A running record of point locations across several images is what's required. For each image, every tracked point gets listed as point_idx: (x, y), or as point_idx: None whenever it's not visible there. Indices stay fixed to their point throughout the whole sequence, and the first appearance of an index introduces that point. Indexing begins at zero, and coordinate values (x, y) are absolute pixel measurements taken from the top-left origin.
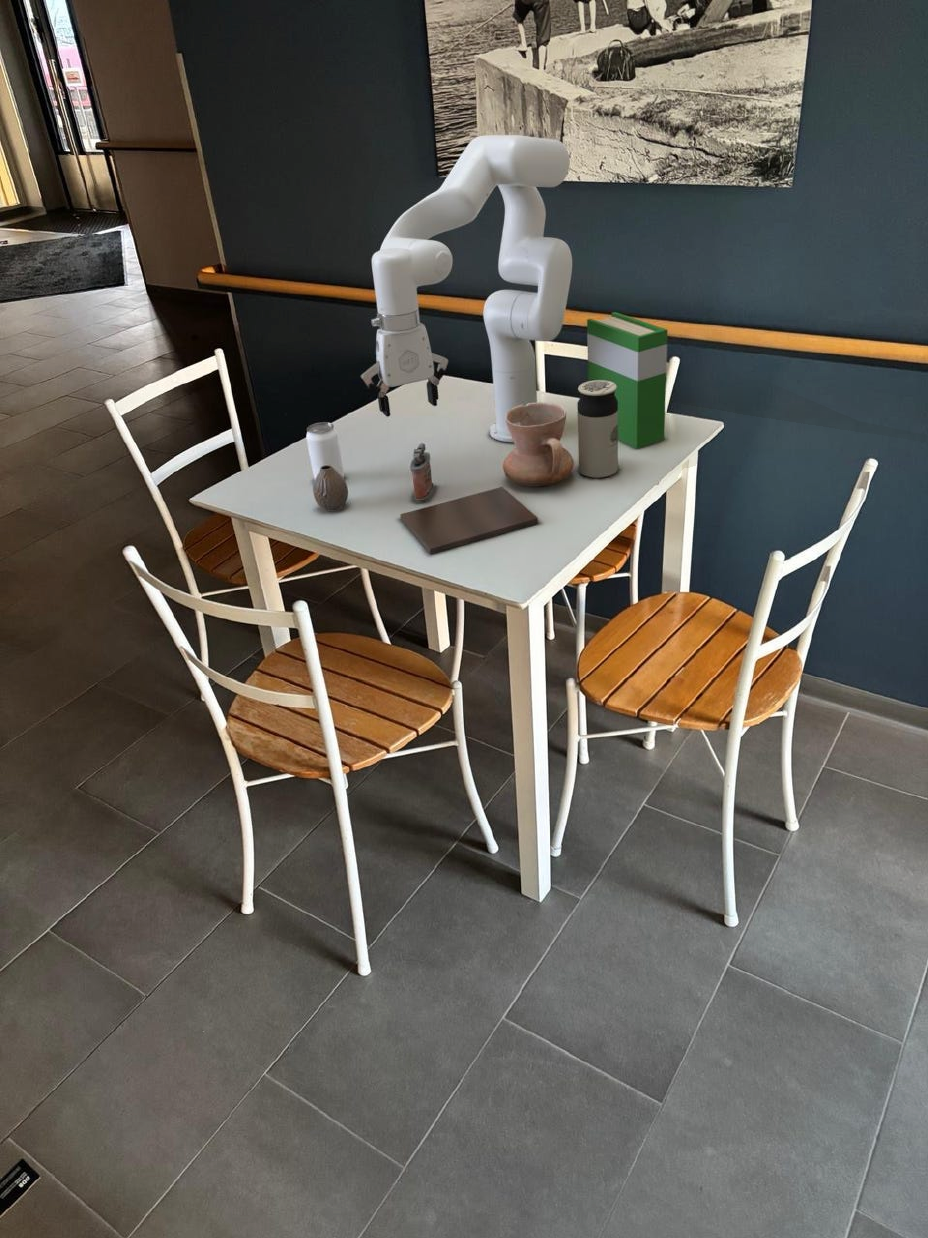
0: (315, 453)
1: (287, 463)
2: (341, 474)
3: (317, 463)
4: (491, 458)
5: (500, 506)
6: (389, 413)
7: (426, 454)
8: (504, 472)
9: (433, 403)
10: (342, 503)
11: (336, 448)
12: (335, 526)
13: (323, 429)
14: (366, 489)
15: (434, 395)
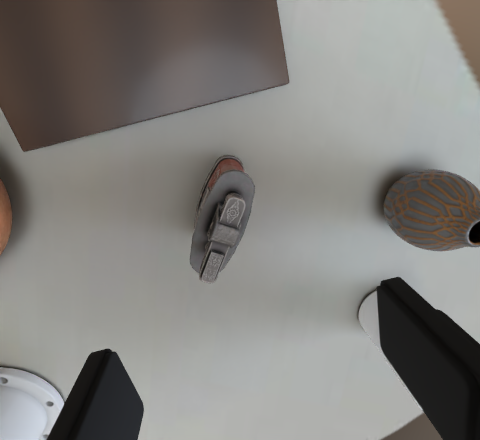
0: None
1: None
2: (370, 305)
3: None
4: (63, 316)
5: (21, 26)
6: (388, 290)
7: (199, 259)
8: (5, 195)
9: (108, 359)
10: (400, 178)
11: None
12: (425, 103)
13: None
14: (328, 253)
15: (73, 407)
